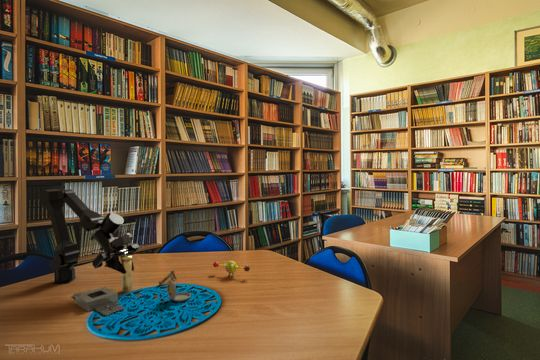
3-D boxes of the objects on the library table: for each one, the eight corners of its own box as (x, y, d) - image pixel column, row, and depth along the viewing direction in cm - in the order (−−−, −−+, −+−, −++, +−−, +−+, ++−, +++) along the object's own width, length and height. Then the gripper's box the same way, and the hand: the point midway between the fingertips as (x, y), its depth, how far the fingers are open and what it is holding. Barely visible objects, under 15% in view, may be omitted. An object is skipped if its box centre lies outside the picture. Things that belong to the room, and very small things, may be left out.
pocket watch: (194, 296, 115) (193, 269, 115) (180, 305, 107) (180, 277, 107) (175, 293, 118) (175, 267, 117) (161, 302, 110) (160, 274, 109)
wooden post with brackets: (179, 277, 132) (175, 269, 131) (164, 290, 127) (160, 282, 125) (176, 276, 133) (172, 268, 132) (162, 289, 128) (157, 281, 126)
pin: (119, 293, 118) (118, 258, 118) (123, 288, 122) (122, 254, 122) (131, 292, 119) (130, 257, 118) (134, 288, 123) (134, 254, 123)
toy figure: (209, 275, 137) (209, 260, 137) (216, 271, 142) (216, 257, 142) (246, 280, 131) (246, 265, 130) (252, 276, 136) (252, 261, 135)
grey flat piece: (66, 298, 114) (66, 289, 114) (95, 289, 122) (95, 282, 122) (98, 318, 98) (98, 309, 98) (129, 307, 106) (129, 298, 106)
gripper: (97, 232, 112) (121, 265, 109) (135, 223, 130) (157, 252, 126) (81, 252, 115) (105, 285, 112) (121, 241, 133) (142, 269, 129)
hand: (129, 271), depth 120 cm, fingers closed on pin, 4 cm apart
